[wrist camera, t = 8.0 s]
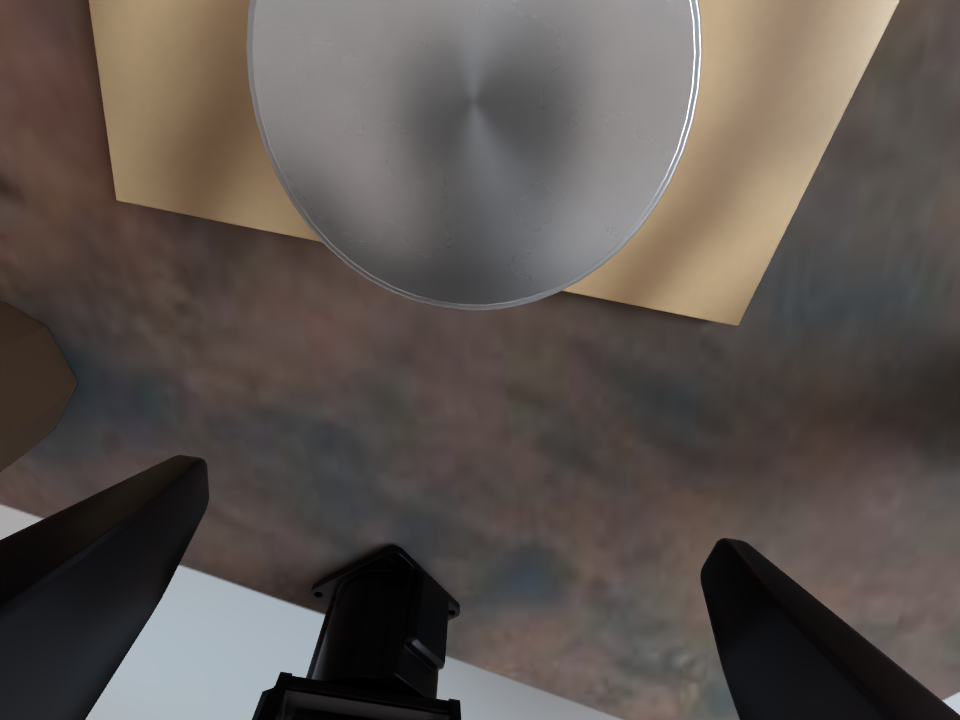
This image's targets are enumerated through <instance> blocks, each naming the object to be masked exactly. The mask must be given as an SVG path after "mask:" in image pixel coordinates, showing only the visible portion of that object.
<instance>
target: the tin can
mask: <svg viewBox="0 0 960 720" xmlns="http://www.w3.org/2000/svg"><path fill="white" fill-rule="evenodd" d="M246 51H247V65H248V79H249V87H250V92H251V97H252V103H253V108H254V114H255V118H256V121H257V125H258V128H259V131H260V134H261V138H262V141H263V144H264V148H265V150H266V152H267V155H268V157H269V159H270V162H271V164H272V166H273V169H274V171H275V173H276V176H277V178H278V179H279V181H280V183H281V185H282V187H283V188H284V190H285V192H286V194H287V195H288V197H289V199H290V201H291V203H292V204H293V205H294V207H295V208H296V210H297V211H298V212H299V214H300V215H301V216H302V218H303V219H304V221H305V222H306V223H307V225H308V226H309V227H310V228H311V230H312V231H313V232H314V233H315V234H316V235H317V236H318V237H319V238H320V240H321V241H322V242H323V243H324V244H325V245H326V246H327V247H328V248H329V249H330V250H331V251H332V252H333V253H335V254H336V255H337V256H338V257H339V258H340V259H341V260H343V261H344V262H345V263H346V264H347V265H348V266H350V267H351V268H353V269H354V270H356V271H357V272H358V273H360V274H361V275H363V276H364V277H366V278H367V279H368V280H370V281H372V282H374V283H376V284H378V285H380V286H381V287H383V288H385V289H387V290H389V291H391V292H393V293H396V294H398V295H401V296H403V297H406V298H408V299H411V300H413V301H417V302H421V303H425V304H429V305H432V306H436V307H442V308H450V309H457V310H492V309H501V308H510V307H514V306H518V305H522V304H526V303H531V302H534V301H537V300H540V299H542V298H545V297H548V296H550V295H553V294H556V293H558V292H560V291H562V290H564V289H566V288H567V287H569V286H571V285H573V284H575V283H577V282H579V281H580V280H582V279H583V278H585V277H586V276H588V275H589V274H591V273H592V272H594V271H595V270H597V269H598V268H600V267H601V266H602V265H603V264H604V263H606V262H607V261H608V260H609V259H610V258H611V257H613V256H614V255H615V254H616V253H617V252H618V251H620V250H621V249H622V247H623V246H624V245H625V244H626V243H627V242H628V241H629V240H630V239H631V238H632V237H633V236H634V234H635V233H636V232H637V231H638V230H639V229H640V228H641V226H642V225H643V223H644V222H645V221H646V219H647V218H648V217H649V215H650V214H651V213H652V211H653V210H654V208H655V207H656V206H657V204H658V202H659V200H660V199H661V197H662V195H663V193H664V192H665V190H666V188H667V186H668V185H669V183H670V181H671V179H672V177H673V175H674V172H675V170H676V168H677V165H678V163H679V161H680V159H681V156H682V154H683V152H684V148H685V145H686V142H687V139H688V136H689V132H690V129H691V126H692V123H693V119H694V113H695V108H696V103H697V98H698V93H699V87H700V74H701V61H702V35H701V15H700V9H699V2H698V0H250V2H249V8H248V21H247V44H246Z"/></svg>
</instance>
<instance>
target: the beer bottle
mask: <svg viewBox="0 0 960 720" xmlns="http://www.w3.org/2000/svg"><path fill="white" fill-rule="evenodd" d="M77 383H78V382H77V380H76V378H75V376H74V374H73V373H72V371H71V369H70V367H69V365H68V364H67V362H66V360H65V358H64V357H63V355H62V353H61V351H60V349H59V348H58V346H57V344H56V342H55V340H54V339H53V337H52V335H51V333H50V331H49V330H48V328H47V326H45V325H43V324H41V323H40V322H38V321H36V320H34V319H32V318H31V317H29V316H27V315H25V314H24V313H22V312H20V311H18V310H17V309H15V308H13V307H11V306H10V305H8V304H6V303H4V302H2V301H1V300H0V472H1V471H2V470H4V469H5V468H6V467H8V466H9V465H10V464H12V463H13V462H14V461H16V460H17V459H19V458H20V457H21V456H23V455H24V454H25V453H26V452H28V451H29V450H30V449H31V448H32V447H34V446H35V445H36V444H37V443H38V442H39V441H41V440H42V439H43V438H44V437H45V436H47V435H48V434H49V433H50V432H51V431H53V430H54V429H55V428H56V426H57V424H58V422H59V420H60V418H61V416H62V414H63V412H64V410H65V408H66V406H67V404H68V402H69V400H70V398H71V396H72V394H73V392H74V390H75V388H76V385H77Z"/></svg>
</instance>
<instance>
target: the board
mask: <svg viewBox="0 0 960 720" xmlns="http://www.w3.org/2000/svg"><path fill="white" fill-rule="evenodd" d="M899 1H900V0H698V2H699V9H700V15H701V35H702V61H701V74H700V87H699V93H698V98H697V103H696V108H695V113H694V119H693V123H692V126H691V129H690V132H689V136H688V139H687V142H686V145H685V148H684V152H683V154H682V156H681V159H680V161H679V163H678V165H677V168H676V170H675V172H674V175H673V177H672V179H671V181H670V183H669V185H668V186H667V188H666V190H665V192H664V193H663V195H662V197H661V199H660V200H659V202H658V204H657V206H656V207H655V208H654V210H653V211H652V213H651V214H650V215H649V217H648V218H647V219H646V221H645V222H644V223H643V225H642V226H641V228H640V229H639V230H638V231H637V232H636V233H635V234H634V236H633V237H632V238H631V239H630V240H629V241H628V242H627V243H626V244H625V245H624V246H623V247H622V249H621V250H620V251H618V252H617V253H616V254H615V255H614V256H613V257H611V258H610V259H609V260H608V261H607V262H606V263H604V264H603V265H602V266H601V267H600V268H598V269H597V270H595V271H594V272H592V273H591V274H589V275H588V276H586V277H585V278H583V279H582V280H580V281H579V282H577V283H575V284H573V285H571V286H569V287H567V288H566V289H564V290H562V291H566V292H571V293H576V294H581V295H586V296H590V297H595V298H600V299H605V300H610V301H615V302H620V303H625V304H630V305H635V306H640V307H645V308H650V309H655V310H660V311H665V312H669V313H674V314H679V315H684V316H689V317H694V318H699V319H704V320H709V321H714V322H719V323H724V324H729V325H734V326H738V325H739V323H740V321H741V319H742V317H743V315H744V312H745V310H746V308H747V306H748V304H749V302H750V300H751V298H752V296H753V294H754V292H755V290H756V288H757V286H758V284H759V282H760V280H761V278H762V276H763V274H764V272H765V270H766V268H767V266H768V264H769V262H770V260H771V258H772V256H773V254H774V252H775V250H776V248H777V246H778V244H779V242H780V240H781V238H782V236H783V234H784V232H785V230H786V228H787V226H788V224H789V222H790V220H791V218H792V216H793V214H794V212H795V210H796V208H797V206H798V204H799V202H800V200H801V198H802V196H803V194H804V192H805V190H806V188H807V186H808V184H809V182H810V180H811V178H812V176H813V174H814V172H815V170H816V168H817V166H818V164H819V162H820V160H821V158H822V155H823V153H824V151H825V149H826V147H827V145H828V143H829V141H830V139H831V137H832V135H833V133H834V131H835V129H836V127H837V125H838V123H839V121H840V119H841V117H842V115H843V113H844V111H845V109H846V107H847V105H848V103H849V101H850V99H851V97H852V95H853V93H854V91H855V89H856V87H857V85H858V83H859V81H860V79H861V77H862V75H863V73H864V71H865V69H866V67H867V65H868V63H869V61H870V59H871V57H872V55H873V53H874V51H875V49H876V47H877V45H878V43H879V41H880V39H881V37H882V35H883V33H884V31H885V29H886V27H887V25H888V23H889V21H890V19H891V17H892V15H893V13H894V11H895V9H896V7H897V5H898V3H899ZM249 2H250V0H89V7H90V14H91V21H92V28H93V35H94V43H95V50H96V57H97V64H98V71H99V79H100V86H101V93H102V100H103V107H104V115H105V122H106V129H107V136H108V143H109V151H110V158H111V165H112V172H113V179H114V187H115V194H116V200H117V201H121V202H126V203H131V204H136V205H141V206H146V207H151V208H156V209H161V210H166V211H171V212H175V213H180V214H185V215H190V216H195V217H200V218H205V219H210V220H215V221H220V222H225V223H230V224H235V225H240V226H245V227H250V228H254V229H259V230H264V231H269V232H274V233H279V234H284V235H289V236H294V237H299V238H304V239H309V240H314V241H319V242H322V241H321V240H320V238H319V237H318V236H317V235H316V234H315V233H314V232H313V231H312V230H311V228H310V227H309V226H308V225H307V223H306V222H305V221H304V219H303V218H302V216H301V215H300V214H299V212H298V211H297V210H296V208H295V207H294V205H293V204H292V203H291V201H290V199H289V197H288V195H287V194H286V192H285V190H284V188H283V187H282V185H281V183H280V181H279V179H278V178H277V176H276V173H275V171H274V169H273V166H272V164H271V162H270V159H269V157H268V155H267V152H266V150H265V148H264V144H263V141H262V138H261V134H260V131H259V128H258V125H257V121H256V118H255V114H254V108H253V103H252V97H251V92H250V87H249V79H248V65H247V51H246V44H247V21H248V8H249Z"/></svg>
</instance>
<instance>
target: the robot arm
mask: <svg viewBox="0 0 960 720" xmlns="http://www.w3.org/2000/svg"><path fill="white" fill-rule="evenodd" d="M208 501H209V487H208V472H207V464H206V462H205V460H204V459H202V458H198V457H191V456H185V455H177V456H174V457H172V458H170V459H168V460H166V461H164V462H162V463H159V464H157V465H155V466H153V467H151V468H149V469H147V470H145V471H143V472H141V473H139V474H137V475H135V476H132V477H130V478H128V479H126V480H124V481H122V482H120V483H118V484H116V485H114V486H112V487H110V488H108V489H105V490H103V491H101V492H99V493H97V494H95V495H93V496H91V497H89V498H87V499H85V500H83V501H81V502H78V503H76V504H74V505H72V506H70V507H68V508H66V509H64V510H62V511H60V512H58V513H56V514H54V515H52V516H49V517H47V518H45V519H43V520H41V521H39V522H37V523H35V524H33V525H31V526H29V527H27V528H25V529H22V530H20V531H18V532H16V533H14V534H12V535H10V536H8V537H6V538H4V539H2V540H0V720H85V719H86V717H87V716H88V714H89V713H90V711H91V710H92V708H93V706H94V705H95V703H96V702H97V700H98V698H99V697H100V695H101V694H102V692H103V691H104V689H105V688H106V686H107V684H108V683H109V681H110V680H111V678H112V676H113V675H114V673H115V672H116V670H117V668H118V667H119V665H120V664H121V662H122V661H123V659H124V657H125V656H126V654H127V653H128V651H129V650H130V648H131V646H132V645H133V643H134V642H135V640H136V639H137V637H138V635H139V634H140V632H141V631H142V629H143V628H144V626H145V624H146V623H147V621H148V620H149V618H150V616H151V615H152V613H153V612H154V610H155V608H156V607H157V605H158V603H159V602H160V600H161V598H162V596H163V594H164V592H165V591H166V589H167V587H168V585H169V583H170V581H171V579H172V577H173V575H174V573H175V571H176V569H177V567H178V565H179V563H180V561H181V559H182V557H183V555H184V553H185V551H186V549H187V547H188V545H189V543H190V541H191V539H192V537H193V535H194V533H195V531H196V529H197V527H198V525H199V523H200V521H201V519H202V517H203V515H204V513H205V511H206V508H207V505H208ZM395 555H396V556H395ZM701 585H702V589H703V593H704V597H705V601H706V605H707V609H708V613H709V617H710V621H711V625H712V629H713V633H714V637H715V641H716V646H717V650H718V654H719V657H720V661H721V665H722V668H723V672H724V675H725V678H726V681H727V684H728V687H729V690H730V693H731V696H732V699H733V702H734V705H735V708H736V711H737V713H738V716H739V719H740V720H960V715H959V714H958V713H956V712H955V711H954V710H953V709H951V708H950V707H949V706H948V705H946V704H945V703H944V702H943V701H942V700H940V699H939V698H938V697H937V696H935V695H934V694H933V693H932V692H930V691H929V690H928V689H927V688H926V687H924V686H923V685H922V684H921V683H919V682H918V681H917V680H916V679H914V678H913V677H912V676H911V675H909V674H908V673H907V672H906V671H905V670H903V669H902V668H901V667H900V666H898V665H897V664H896V663H895V662H893V661H892V660H891V659H890V658H889V657H887V656H886V655H885V654H884V653H882V652H881V651H880V650H879V649H877V648H876V647H875V646H874V645H872V644H871V643H870V642H869V641H868V640H866V639H865V638H864V637H863V636H861V635H860V634H859V633H858V632H856V631H855V630H854V629H853V628H852V627H850V626H849V625H848V624H847V623H845V622H844V621H843V620H842V619H840V618H839V617H838V616H837V615H835V614H834V613H833V612H832V611H831V610H829V609H828V608H827V607H826V606H824V605H823V604H822V603H821V602H819V601H818V600H817V599H816V598H815V597H813V596H812V595H811V594H810V593H808V592H807V591H806V590H805V589H803V588H802V587H801V586H800V585H798V584H797V583H796V582H795V581H794V580H792V579H791V578H790V577H789V576H787V575H786V574H785V573H784V572H782V571H781V570H780V569H779V568H778V567H776V566H775V565H774V564H773V563H771V562H770V561H769V560H768V559H766V558H765V557H764V556H763V555H762V554H760V553H759V552H758V551H757V550H755V549H754V548H753V547H752V546H750V545H749V544H748V543H746V542H744V541H741V540H735V539H729V538H722V539H720V540H719V541H718V542H717V543H716V544H715V546H714V548H713V550H712V551H711V553H710V555H709V556H708V558H707V560H706V562H705V563H704V565H703V567H702V570H701ZM310 596H311V597H312V598H313V599H315V600H316V601H317V602H318V603H319V604H321V605H322V606H323V607H324V608H326V609H327V612H326V615H325V619H324V622H323V625H322V628H321V631H320V635H319V638H318V641H317V644H316V648H315V651H314V654H313V657H312V660H311V664H310V667H309V670H308V673H307V676H306V678H302V677H295V676H292V674H291V673H285V672H281V673H280V675H279V677H278V680H277V682H276V685H275V686H274V688H272V689H269V690H266V691H263V692H262V695H261V698H260V700H259V702H258V705H257V708H256V710H255V713H254V716H253V718H252V720H461V711H460V710H461V709H460V700H454V699H449V700H448V701H447V700H440V699H436V696H437V683H438V671H439V670H440V669H442V668H443V667H444V664H445V654H446V639H447V624H448V620H450V619H453V618H455V617H457V616H458V615H459V614H460V605H459V603H458V602H457V601H456V600H454V599H453V598H452V597H451V596H450V595H449V594H448V593H447V592H446V591H445V590H444V589H443V588H442V587H441V586H440V585H439V584H438V583H437V582H436V581H435V580H434V579H433V578H432V577H431V576H430V575H429V574H428V573H427V572H426V571H424V570H423V569H422V568H421V567H420V566H419V565H418V564H417V563H416V562H415V561H414V560H413V559H412V558H411V557H410V556H409V555H408V554H407V553H406V552H405V551H404V550H403V549H402V548H400V547H397V546H391V547H389V548H386V549H384V550H382V551H380V552H378V553H376V554H374V555H372V556H370V557H368V558H366V559H364V560H362V561H360V562H358V563H356V564H354V565H352V566H350V567H348V568H346V569H344V570H342V571H339V572H337V573H335V574H333V575H331V576H329V577H327V578H325V579H323V580H321V581H319V582H317V583H315V584H314V585H313V586H312V589H311V592H310Z"/></svg>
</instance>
